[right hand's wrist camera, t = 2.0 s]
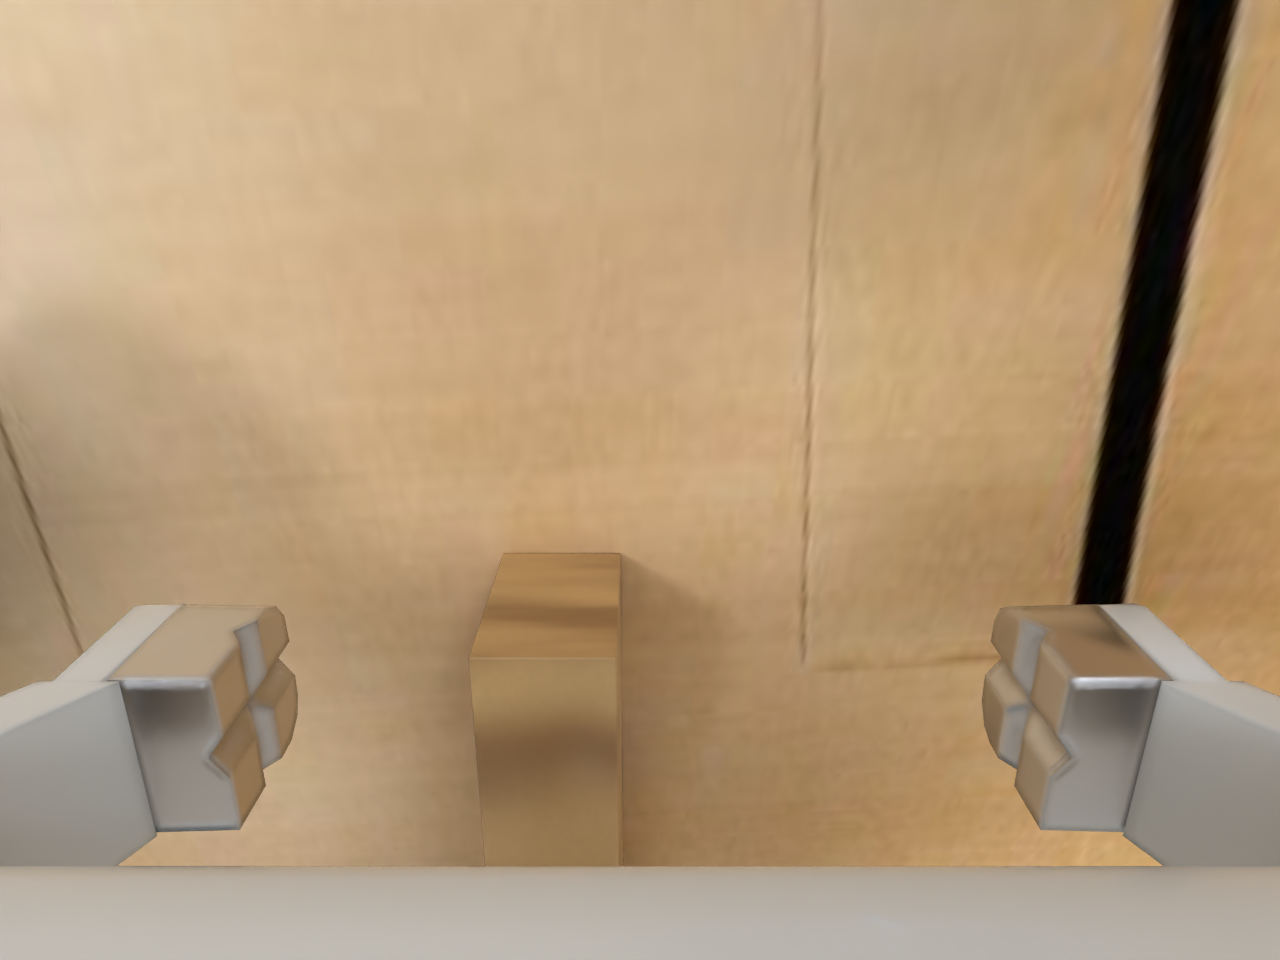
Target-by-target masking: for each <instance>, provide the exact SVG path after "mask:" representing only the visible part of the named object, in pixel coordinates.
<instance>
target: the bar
mask: <svg viewBox="0 0 1280 960" xmlns="http://www.w3.org/2000/svg"><path fill="white" fill-rule="evenodd" d="M469 669H470V682H471V694H472V707H473V719H474V732H475V745H476V757H477V770H478V782H479V795H480V807H481V820H482V832H483V845H484V858H485V866H623V769H622V637H621V554H619V553H504V554H503V556H502V559H501V562H500V565H499V568H498V571H497V574H496V577H495V580H494V583H493V586H492V589H491V592H490V595H489V598H488V601H487V604H486V607H485V610H484V613H483V617H482V620H481V623H480V626H479V629H478V632H477V635H476V638H475V641H474V644H473V647H472V650H471V653H470V656H469Z"/></svg>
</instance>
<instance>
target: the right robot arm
mask: <svg viewBox="0 0 1280 960" xmlns="http://www.w3.org/2000/svg"><path fill="white" fill-rule="evenodd" d="M288 642H289V638H288V633H287V628H286V623H285V618H284V615H283V614H282V613H281V612H280V610H279V609H278V608H277V607H276V606H236V605H186V604H155V605H140V606H135V607H134V608H132V609H131V610H130V611H129V612H128V613H127V614H126V615H125V616H124V617H123V618H121V619H120V620H119V621H118V622H117V623H116V624H115V625H114V626H113V627H112V628H110V629H109V630H108V631H107V632H106V633H105V634H104V635H103V636H102V637H101V638H99V639H98V640H97V641H96V642H95V643H94V644H93V645H92V646H91V647H90V648H88V649H87V650H86V651H85V652H84V653H83V654H82V655H81V656H80V657H79V658H77V659H76V660H75V661H74V662H73V663H72V664H71V665H70V666H69V667H68V668H66V669H65V670H64V671H63V672H62V673H61V674H60V675H59V676H58V677H57V678H55V679H54V680H53V681H37V682H35V683H32V684H30V685H27V686H25V687H22V688H20V689H17V690H15V691H12V692H10V693H7V694H5V695H2V696H0V960H1280V696H1278V695H1275V694H1273V693H1270V692H1268V691H1265V690H1263V689H1260V688H1258V687H1255V686H1253V685H1250V684H1248V683H1246V682H1243V681H1227V680H1226V679H1225V678H1223V677H1222V676H1221V675H1220V674H1219V673H1218V672H1217V671H1216V670H1215V669H1214V668H1213V667H1211V666H1210V665H1209V664H1208V663H1207V662H1206V661H1205V660H1204V659H1203V658H1202V657H1200V656H1199V655H1198V654H1197V653H1196V652H1195V651H1194V650H1193V649H1192V648H1191V647H1189V646H1188V645H1187V644H1186V643H1185V642H1184V641H1183V640H1182V639H1181V638H1180V637H1179V636H1177V635H1176V634H1175V633H1174V632H1173V631H1172V630H1171V629H1170V628H1169V627H1168V626H1166V625H1165V624H1164V623H1163V622H1162V621H1161V620H1160V619H1159V618H1158V617H1157V616H1156V615H1154V614H1153V613H1152V612H1151V611H1150V610H1149V609H1148V608H1147V607H1144V606H1141V605H1138V604H1111V605H1055V606H1014V607H1006V608H1000V610H999V613H998V615H997V617H996V619H995V621H994V626H993V632H992V637H991V642H992V644H993V645H994V647H995V649H996V650H997V652H998V653H999V655H1000V656H1001V659H1000V660H999V661H998V662H997V664H996V665H995V666H994V667H993V668H992V669H991V670H990V671H989V672H988V673H987V674H986V675H985V681H984V689H983V696H982V707H983V718H984V726H985V729H986V732H987V735H988V739H989V742H990V744H991V746H992V747H993V749H994V751H995V753H996V755H997V756H998V758H999V759H1001V760H1003V761H1004V762H1006V763H1007V764H1009V765H1011V766H1012V767H1014V768H1015V769H1017V774H1016V779H1015V785H1014V786H1015V788H1016V789H1017V791H1018V793H1019V794H1020V796H1021V798H1022V799H1023V801H1024V803H1025V804H1026V806H1027V808H1028V810H1029V811H1030V813H1031V815H1032V816H1033V818H1034V820H1035V821H1036V823H1037V825H1038V826H1039V828H1040V830H1066V831H1103V832H1124V833H1123V836H1124V837H1125V838H1127V839H1128V840H1129V841H1131V842H1132V843H1133V844H1135V845H1136V846H1138V847H1139V848H1140V849H1142V850H1143V851H1144V852H1146V853H1147V854H1148V855H1150V856H1151V857H1152V858H1154V859H1155V860H1156V861H1158V862H1159V863H1160V864H1162V865H1163V866H117V865H119V864H120V863H121V862H123V861H124V860H125V859H127V858H128V857H129V856H131V855H132V854H133V853H135V852H136V851H137V850H139V849H140V848H141V847H143V846H144V845H146V844H147V843H148V842H150V841H151V840H152V839H154V838H155V837H156V836H157V833H156V832H177V831H212V830H240V828H241V827H242V825H243V823H244V822H245V820H246V818H247V816H248V815H249V813H250V811H251V810H252V808H253V806H254V805H255V803H256V801H257V799H258V798H259V796H260V794H261V793H262V791H263V789H264V788H265V786H266V785H265V779H264V774H263V769H265V768H266V767H268V766H269V765H271V764H273V763H274V762H276V761H277V760H279V759H281V758H282V756H283V755H284V753H285V751H286V749H287V747H288V745H289V744H290V742H291V740H292V736H293V731H294V727H295V723H296V719H297V706H298V693H297V687H296V680H295V675H294V674H293V673H292V672H291V671H290V670H289V669H288V668H287V667H286V666H285V665H284V664H283V662H282V661H281V660H280V659H279V656H280V655H281V653H282V652H283V650H284V649H285V647H286V645H287V644H288Z"/></svg>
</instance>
